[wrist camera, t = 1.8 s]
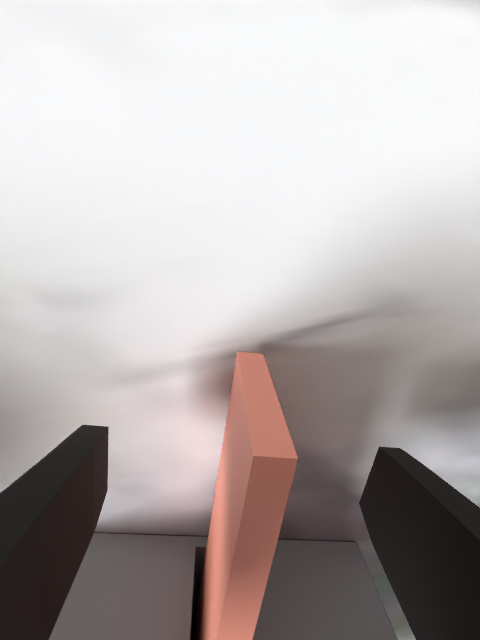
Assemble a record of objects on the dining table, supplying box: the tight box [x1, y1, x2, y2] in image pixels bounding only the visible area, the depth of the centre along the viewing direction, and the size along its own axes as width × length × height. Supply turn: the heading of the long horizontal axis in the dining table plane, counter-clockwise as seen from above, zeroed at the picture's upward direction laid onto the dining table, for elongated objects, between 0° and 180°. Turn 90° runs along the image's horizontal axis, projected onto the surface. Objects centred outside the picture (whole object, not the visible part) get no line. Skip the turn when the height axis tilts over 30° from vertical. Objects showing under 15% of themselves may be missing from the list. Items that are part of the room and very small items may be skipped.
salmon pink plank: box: [193, 351, 298, 640], centre depth 10 cm, size 13×1×4 cm, turn 172°
